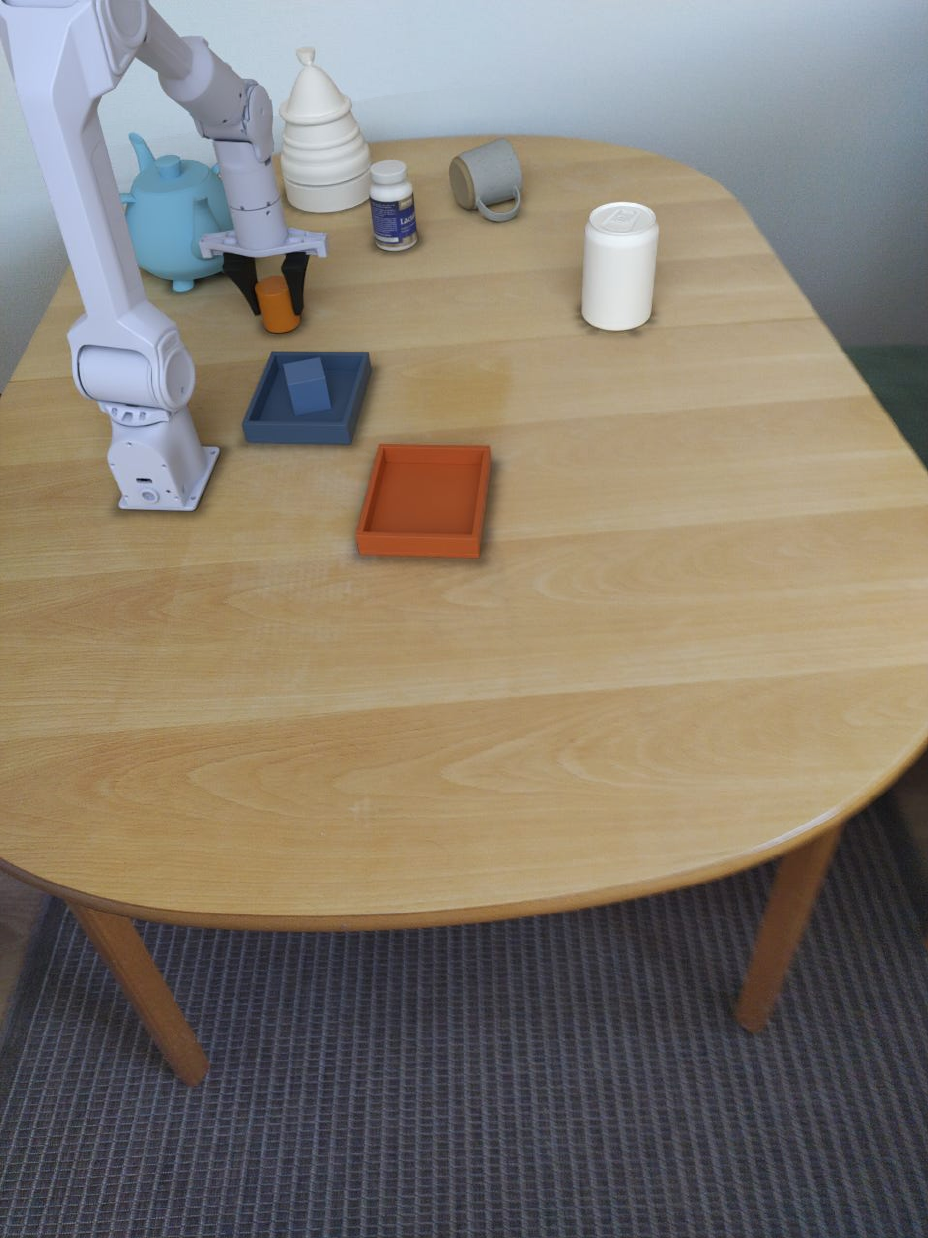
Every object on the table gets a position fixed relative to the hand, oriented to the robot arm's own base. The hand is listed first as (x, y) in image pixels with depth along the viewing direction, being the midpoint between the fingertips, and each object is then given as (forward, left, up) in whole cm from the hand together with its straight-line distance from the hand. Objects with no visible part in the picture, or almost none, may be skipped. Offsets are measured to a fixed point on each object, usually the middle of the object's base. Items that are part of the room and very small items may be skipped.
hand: (279, 310), depth 113 cm
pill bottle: (+20, -11, -2) cm, 23 cm away
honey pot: (+35, +1, -2) cm, 35 cm away
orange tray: (-32, -22, -2) cm, 39 cm away
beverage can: (+2, -40, -2) cm, 40 cm away
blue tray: (-16, -7, -2) cm, 18 cm away
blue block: (-16, -7, -1) cm, 18 cm away
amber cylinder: (0, 0, -2) cm, 2 cm away
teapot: (+14, +15, -2) cm, 21 cm away
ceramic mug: (+30, -23, -2) cm, 38 cm away
